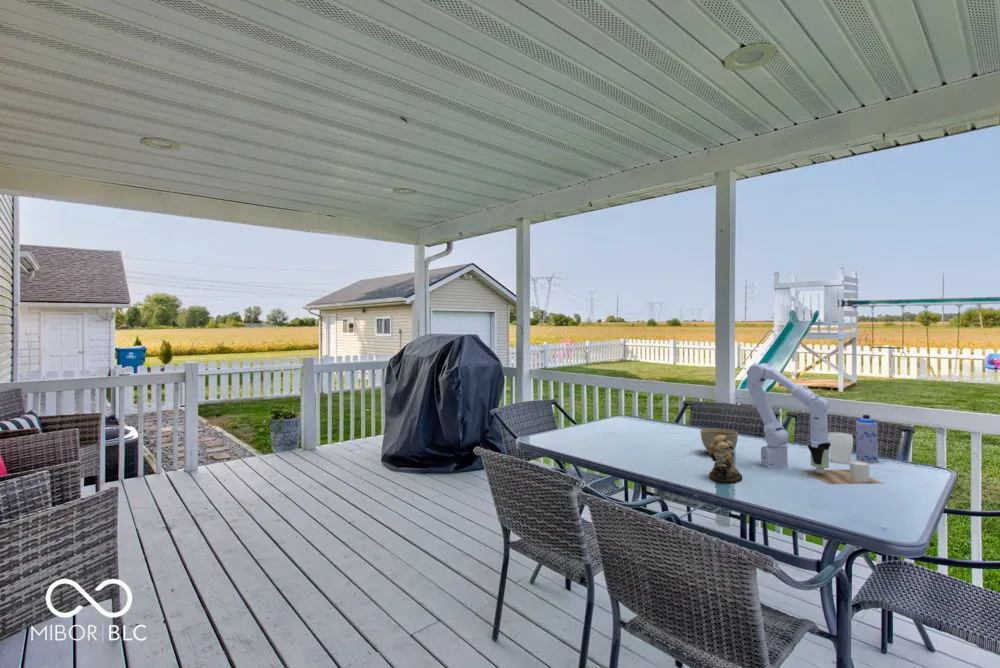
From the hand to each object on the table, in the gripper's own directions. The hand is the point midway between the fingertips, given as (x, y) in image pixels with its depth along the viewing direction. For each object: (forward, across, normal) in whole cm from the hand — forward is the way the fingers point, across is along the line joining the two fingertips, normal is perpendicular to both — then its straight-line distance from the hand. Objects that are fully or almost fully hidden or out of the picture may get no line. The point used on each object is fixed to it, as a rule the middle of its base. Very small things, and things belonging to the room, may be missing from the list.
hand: (819, 462), depth 189 cm
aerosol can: (+5, +36, -9) cm, 38 cm away
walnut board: (+5, +1, -6) cm, 8 cm away
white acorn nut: (+4, 0, -13) cm, 14 cm away
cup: (+5, +27, -2) cm, 27 cm away
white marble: (+4, 0, 0) cm, 5 cm away
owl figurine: (+5, -28, +25) cm, 38 cm away
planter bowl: (+6, +6, +42) cm, 42 cm away
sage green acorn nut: (+2, 0, 0) cm, 2 cm away
